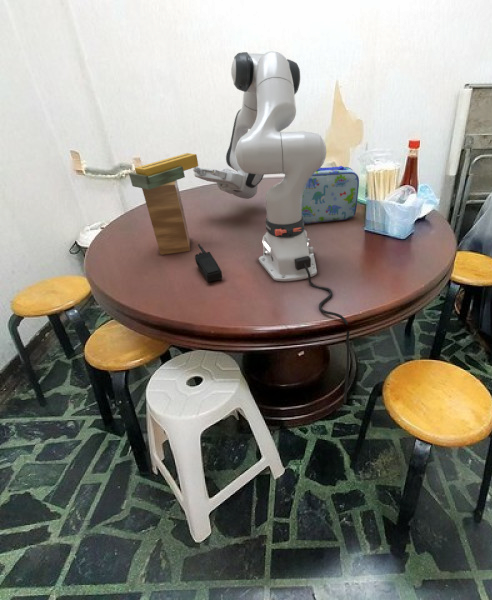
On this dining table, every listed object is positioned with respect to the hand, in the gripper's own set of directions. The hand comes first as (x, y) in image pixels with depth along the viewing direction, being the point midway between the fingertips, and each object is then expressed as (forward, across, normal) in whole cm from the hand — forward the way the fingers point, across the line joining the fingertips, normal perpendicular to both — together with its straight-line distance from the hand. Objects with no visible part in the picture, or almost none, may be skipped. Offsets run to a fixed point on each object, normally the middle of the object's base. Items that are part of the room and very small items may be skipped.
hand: (204, 170), depth 129 cm
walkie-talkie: (+12, +21, +33) cm, 41 cm away
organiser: (+6, 0, +30) cm, 30 cm away
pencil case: (+15, 0, +5) cm, 16 cm away
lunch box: (-36, +36, +5) cm, 51 cm away
